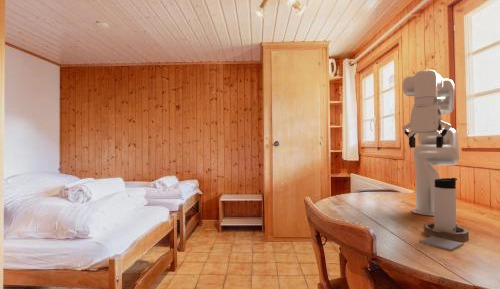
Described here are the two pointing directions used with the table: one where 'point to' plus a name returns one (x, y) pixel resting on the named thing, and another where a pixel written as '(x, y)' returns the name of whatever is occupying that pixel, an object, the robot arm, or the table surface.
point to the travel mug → (445, 204)
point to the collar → (446, 233)
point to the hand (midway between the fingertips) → (425, 147)
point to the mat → (441, 243)
